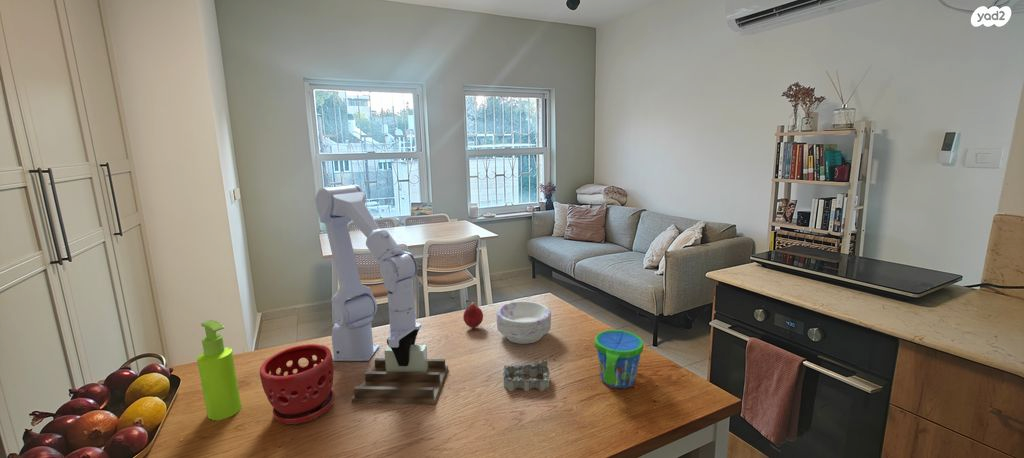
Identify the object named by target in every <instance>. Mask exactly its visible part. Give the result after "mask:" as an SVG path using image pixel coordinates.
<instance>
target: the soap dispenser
mask: <svg viewBox="0 0 1024 458" xmlns="http://www.w3.org/2000/svg"><path fill="white" fill-rule="evenodd" d="M200 325H201V327H203V328H204V330H205V337H204V338H202V339H201V344H202V350H203V352H202V353H200V354H199V355H198V356H197V358H196V360H197V366H198V371H199V376H200V377H199V378H200V382H201V387H202V392H203V399H204V403H205V410H206V415H207V418H209V419H208V420H210V419H212V420H211V421H213V420H217V421H221V420H220V419H223V420H225V419H224V418H226V419H229V418H231V417H233V416H235V415H236V414H238V413H239V412H240V411H241V409H242V401H241V395H240V389H239V384H238V383H239V382H238V378H237V372H236V371H237V370H236V366H235V360H234V352H233V349H232V348H231V347H225V345H224V339H223V335H222V334H218V333H217V332H218V331H221V330H223V329H225V326H224V325H223V324H222V323H221V322H219V321H217V320H213V319H210V320H207V321H204V322H201V323H200ZM239 410H240V411H239ZM237 412H238V413H237ZM234 414H235V415H234ZM230 416H231V417H230ZM228 417H229V418H228Z"/></svg>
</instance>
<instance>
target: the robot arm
mask: <svg viewBox="0 0 1024 458" xmlns="http://www.w3.org/2000/svg"><path fill="white" fill-rule="evenodd" d="M314 201H315V206H316V210H317V214H318V218H319V221H320V223H321V224H324V225H325V226H324V227H325V229H326V234H327V238H328V243H329V247H330V251H331V255H332V256H331V257H332V260H333V263H334V268H335V273H336V277H337V280H338V281H337V282H338V286H339V288H338V290H337V291H336V292H335V293H334V295H333V296H332V297H331V299H330V301H331V316H332V318H333V320H334V325H333V326H332V328H331V329H332V330H331V343H332V344H331V345H332V353H333V355H332V356H333V357H332V359H333V362H335V361H337V362H339V361H340V362H369V361H370V360H371V358H372V357H373V355H374V354H375V353H376V352H377V350H378V349H379V347H380V344H374V339H373V330H372V329H373V327H372V321H373V320H374V316H375V315H376V313H377V311H378V303H377V300H376V298H375V297H374V294H373V292H372V288H370V287H369V286H367V285H364V284H363V283H361V278H360V273H359V269H358V265H357V260H356V256H355V251H354V247H353V244H352V238H351V235H350V231H349V226H348V225H349V222H350V221H351V222H352V223H354V224H355V226H356V227H357V228H358V229H359V231H361V233H362V234H363V235H364V236H365V238H366V241H365V246H366V248H367V249H368V251H369V252H370V253H371V254H372V256H373V258H374V259H375V261H376V262H378V264H379V266H380V268H379V274H380V277H381V279H382V281H383V287H384V289H385V290H386V292H387V303H388V304H387V305H388V317H389V326H388V328H389V330H388V331H389V336H388V337H387V339H386V345H387V346H388V345H389V347H390V348H391V349H392V351H393V353H394V355H395V357H396V360H397V363H398V365H399V366H408V363H409V354H410V347H411V345H416V339H417V336H418V333H419V331H420V329H421V327H422V323H421V322H417V312H416V310H415V295H414V291H415V290H414V281H413V278H414V277H415V276H416V275H417V273H418V269H419V268H418V263H417V260H416V258H415V257H414V255H413V254H412V253H411V252H409V251H406V250H405V249H401V247H400V246H399V245H398V244H397V242H396V240H395V239H394V238H393V237H392V235H391V234H390V233H389V231H388V230H385V229H381V228H380V227H379V226H378V224H377V221H376V220H375V219H374V217H373V216H372V214H371V212H370V211H369V209H368V207H367V206H366V203H367V202H366V194H365V193H364V191H363V190H362V188H361V186H360V185H358V184H351V185H344V186H333V187H321V188H319V189H318V191H317V193H316V196H315V199H314Z"/></svg>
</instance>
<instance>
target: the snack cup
mask: <svg viewBox="0 0 1024 458" xmlns="http://www.w3.org/2000/svg"><path fill="white" fill-rule="evenodd" d="M594 346H595V348H596V350H597V359H598V367H599V368H598V369H599V375H600V379H601V382H602V383H605V385H607V386H609V387H611V388H613V389H627V388H631V387H632V385H634V383H635V380H636V377H637V373H638V368H639V363H640V358H641V354H642V353H643V351H644V341H643V339H642V338H641V337H640V336H639V335H636V334H635V333H634V332H633V333H632V332H631V331H630V332H629V331H627V330H620V329H607V330H604V331H601V332H599V333H598V334H597V335H596V336H595V338H594Z"/></svg>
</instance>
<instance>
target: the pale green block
mask: <svg viewBox="0 0 1024 458" xmlns="http://www.w3.org/2000/svg"><path fill="white" fill-rule="evenodd" d="M383 352H384V358H385V363H386V372H426V371H427V369H428V361H427V359H428V347H427V344H415V345H411V347H410V354H409V363H408V366H399V365H398V363H397V360H396V357H395V355H394V353H393V351H392V349H391V348H390V347H389V345H388V344H387V346H386V348H385V349H384V351H383Z"/></svg>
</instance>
